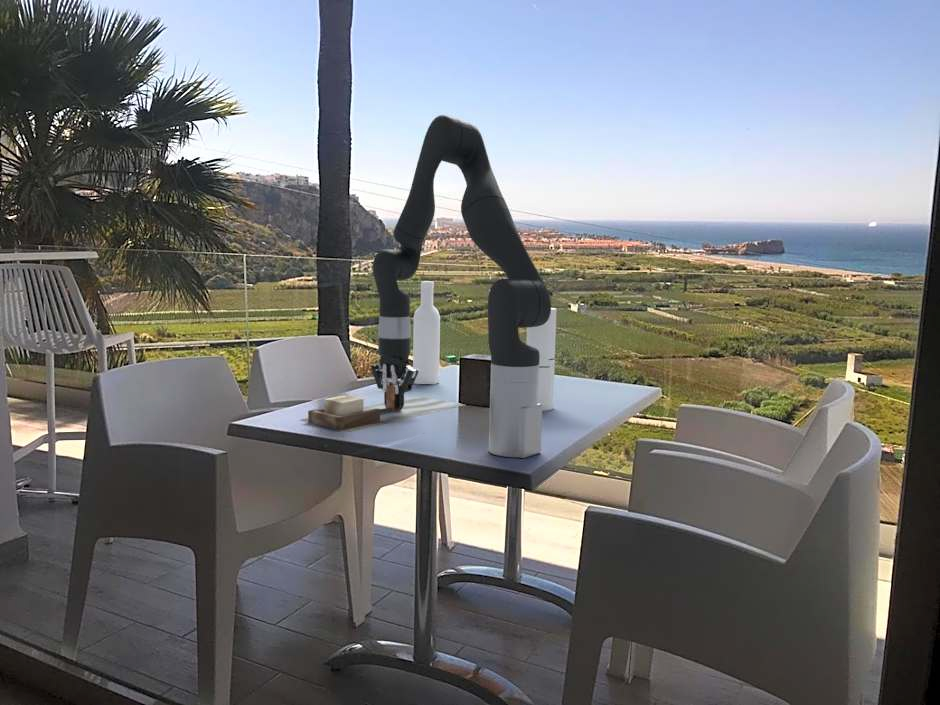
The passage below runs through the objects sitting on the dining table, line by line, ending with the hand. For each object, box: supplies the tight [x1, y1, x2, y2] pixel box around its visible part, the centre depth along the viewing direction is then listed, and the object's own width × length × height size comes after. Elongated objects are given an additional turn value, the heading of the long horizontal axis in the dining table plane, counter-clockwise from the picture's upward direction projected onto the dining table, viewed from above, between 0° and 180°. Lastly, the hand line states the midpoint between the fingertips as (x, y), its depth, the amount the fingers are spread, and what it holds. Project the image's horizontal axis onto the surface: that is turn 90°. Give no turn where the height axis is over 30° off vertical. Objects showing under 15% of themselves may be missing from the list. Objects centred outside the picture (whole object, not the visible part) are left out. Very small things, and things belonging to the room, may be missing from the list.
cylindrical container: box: [525, 307, 557, 412], centre depth 186 cm, size 7×7×25 cm
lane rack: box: [300, 396, 467, 432], centre depth 175 cm, size 16×39×3 cm, turn 142°
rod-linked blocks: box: [323, 384, 401, 416], centre depth 169 cm, size 6×20×6 cm, turn 142°
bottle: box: [412, 280, 441, 385], centre depth 219 cm, size 8×8×30 cm
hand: (393, 408), depth 176 cm, fingers closed on rod-linked blocks, 2 cm apart
